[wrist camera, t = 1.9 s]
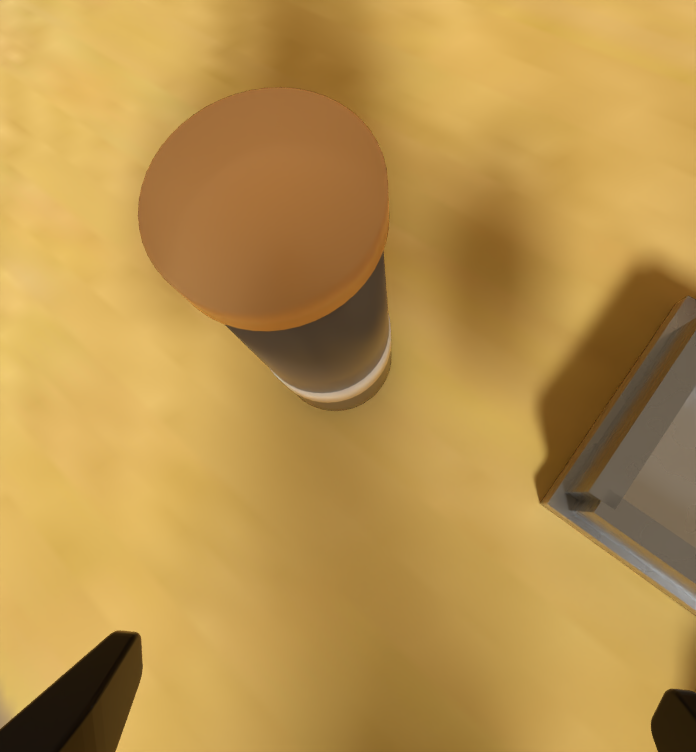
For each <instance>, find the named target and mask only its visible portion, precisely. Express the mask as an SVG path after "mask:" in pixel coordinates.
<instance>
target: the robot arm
mask: <svg viewBox="0 0 696 752" xmlns="http://www.w3.org/2000/svg"><path fill="white" fill-rule="evenodd" d="M142 669H143V664H142V646H141V636H140V635H139V633H137V632H129V631H115V632H113V633H111V634H110V635H109V636H108V637H106V638H105V639H104V640H103V641H102V642H101V643H99V644H98V645H97V646H96V647H95V648H94V649H93V650H91V651H90V652H89V653H88V654H87V655H86V656H84V657H83V658H82V659H81V660H80V661H79V662H77V663H76V664H75V665H74V666H73V667H72V668H70V669H69V670H68V671H67V672H66V673H65V674H64V675H62V676H61V677H60V678H59V679H58V680H57V681H55V682H54V683H53V684H52V685H51V686H50V687H48V688H47V689H46V690H45V691H44V692H43V693H42V694H40V695H39V696H38V697H37V698H36V699H35V700H33V701H32V702H31V703H30V704H29V705H28V706H26V707H25V708H24V709H23V710H22V711H21V712H20V713H18V714H17V715H16V716H15V717H14V718H13V719H11V720H10V721H9V722H8V723H7V724H6V725H4V726H3V727H2V728H1V729H0V752H115V751H116V749H117V746H118V743H119V740H120V737H121V734H122V731H123V729H124V726H125V723H126V720H127V717H128V714H129V712H130V709H131V706H132V703H133V700H134V697H135V694H136V692H137V689H138V686H139V683H140V679H141V675H142ZM651 731H652V736H653V739H654V742H655V745H656V747H657V750H658V752H696V693H695V692H693V691H689V690H680V689H669V690H667V691H666V692H665V693H664V695H663V697H662V699H661V701H660V703H659V705H658V707H657V709H656V711H655V713H654V715H653V717H652V720H651Z"/></svg>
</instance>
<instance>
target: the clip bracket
mask: <svg viewBox="0 0 696 752" xmlns="http://www.w3.org/2000/svg"><path fill="white" fill-rule="evenodd" d="M540 504H541V505H543V506H544V507H546V508H547V509H548V510H550V511H551V512H552V513H554V514H555V515H557V516H558V517H559V518H561V519H562V520H564V521H565V522H566V523H568V524H569V525H571V526H572V527H573V528H575V529H576V530H577V531H579V532H580V533H582V534H583V535H584V536H586V537H587V538H589V539H590V540H591V541H593V542H594V543H596V544H597V545H598V546H600V547H601V548H602V549H604V550H605V551H607V552H608V553H609V554H611V555H612V556H614V557H615V558H616V559H618V560H619V561H621V562H622V563H623V564H625V565H626V566H627V567H629V568H630V569H632V570H633V571H634V572H636V573H637V574H639V575H640V576H641V577H643V578H644V579H645V580H647V581H648V582H650V583H651V584H652V585H654V586H655V587H657V588H658V589H659V590H661V591H662V592H664V593H665V594H666V595H668V596H669V597H670V598H672V599H673V600H675V601H676V602H677V603H679V604H680V605H682V606H683V607H684V608H686V609H687V610H689V611H690V612H691V613H693V614H694V615H695V616H696V300H695V299H694V298H692V297H690V296H687V297H685V298H684V299H682V300H681V301H679V302H678V303H677V304H675V305H674V307H673V308H672V310H671V311H670V313H669V314H668V316H667V317H666V319H665V320H664V322H663V323H662V325H661V326H660V328H659V329H658V330H657V332H656V333H655V335H654V336H653V338H652V339H651V341H650V342H649V344H648V345H647V347H646V348H645V350H644V351H643V353H642V354H641V356H640V357H639V358H638V360H637V361H636V363H635V364H634V366H633V367H632V369H631V370H630V372H629V373H628V375H627V376H626V378H625V379H624V381H623V382H622V384H621V385H620V386H619V388H618V389H617V391H616V392H615V394H614V395H613V397H612V398H611V400H610V401H609V403H608V404H607V406H606V407H605V409H604V410H603V412H602V413H601V414H600V416H599V417H598V419H597V420H596V422H595V423H594V425H593V426H592V428H591V429H590V431H589V432H588V434H587V435H586V437H585V438H584V440H583V441H582V442H581V444H580V445H579V447H578V448H577V450H576V451H575V453H574V454H573V456H572V457H571V459H570V460H569V462H568V463H567V465H566V466H565V468H564V469H563V470H562V472H561V473H560V475H559V476H558V478H557V479H556V481H555V482H554V484H553V485H552V487H551V488H550V490H549V491H548V493H547V494H546V496H545V497H544V498H543V500H542V501H541V503H540Z"/></svg>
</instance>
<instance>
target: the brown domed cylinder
mask: <svg viewBox="0 0 696 752" xmlns="http://www.w3.org/2000/svg"><path fill="white" fill-rule="evenodd" d="M138 220H139V230H140V234H141V238H142V242H143V245H144V247H145V250H146V252H147V255H148V257H149V258H150V260H151V262H152V263H153V265H154V267H155V268H156V269H157V270H158V272H159V273H160V274H161V275H162V276H163V278H164V279H165V280H166V281H167V282H168V283H170V284H171V285H172V286H173V287H174V288H175V289H176V290H177V291H178V292H179V293H180V294H181V295H183V296H184V297H185V298H186V299H187V300H188V301H189V302H190V303H191V304H193V305H194V306H195V307H196V308H197V309H198V310H199V311H201V312H202V313H204V314H205V315H207V316H209V317H210V318H212V319H214V320H216V321H218V322H221V323H223V324H225V325H226V326H227V327H228V328H229V329H230V330H231V331H232V332H233V333H234V334H235V335H236V336H237V337H238V338H239V339H240V340H241V341H242V342H243V343H244V344H245V345H246V346H247V347H248V348H249V349H250V350H251V351H253V352H254V353H255V354H256V355H257V356H258V357H259V358H260V359H261V360H262V361H263V362H264V363H265V364H266V365H267V366H268V367H269V368H270V370H271V371H272V372H273V373H274V374H275V376H276V377H277V378H278V379H279V380H281V381H282V382H283V383H284V384H285V385H286V386H287V387H288V388H289V389H290V390H291V391H293V392H294V393H296V394H297V395H298V396H299V397H300V398H301V399H302V400H304V401H305V402H307V403H308V404H310V405H312V406H314V407H317V408H320V409H324V410H331V411H339V410H347V409H351V408H354V407H357V406H359V405H361V404H363V403H365V402H366V401H368V400H369V399H370V398H372V397H373V396H374V395H375V394H376V393H377V392H378V391H379V389H380V388H381V387H382V385H383V384H384V382H385V380H386V378H387V376H388V373H389V370H390V365H391V328H390V318H389V314H388V305H387V292H386V278H385V265H384V252H383V250H384V247H385V244H386V240H387V235H388V230H389V198H388V180H387V170H386V165H385V161H384V157H383V154H382V152H381V149H380V147H379V145H378V142H377V141H376V139H375V137H374V136H373V134H372V133H371V131H370V129H369V128H368V127H367V126H366V125H365V124H364V122H363V121H362V120H361V119H360V118H359V117H358V116H356V115H355V114H354V113H353V112H352V111H351V110H349V109H348V108H346V107H345V106H343V105H342V104H340V103H339V102H337V101H335V100H333V99H330V98H328V97H326V96H324V95H321V94H318V93H315V92H311V91H307V90H301V89H296V88H283V87H277V88H262V89H255V90H249V91H245V92H241V93H237V94H234V95H232V96H229V97H226V98H223V99H221V100H219V101H217V102H215V103H213V104H211V105H209V106H207V107H205V108H203V109H202V110H200V111H199V112H197V113H196V114H194V115H193V116H191V117H190V118H189V119H188V120H186V121H185V122H184V123H182V124H181V125H180V126H179V127H178V128H177V129H176V130H175V131H174V132H173V133H172V134H171V135H170V136H169V138H168V139H167V140H166V141H165V142H164V144H163V145H162V146H161V147H160V149H159V151H158V152H157V154H156V155H155V157H154V158H153V160H152V162H151V164H150V166H149V168H148V170H147V172H146V175H145V178H144V181H143V184H142V188H141V192H140V197H139V207H138Z"/></svg>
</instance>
